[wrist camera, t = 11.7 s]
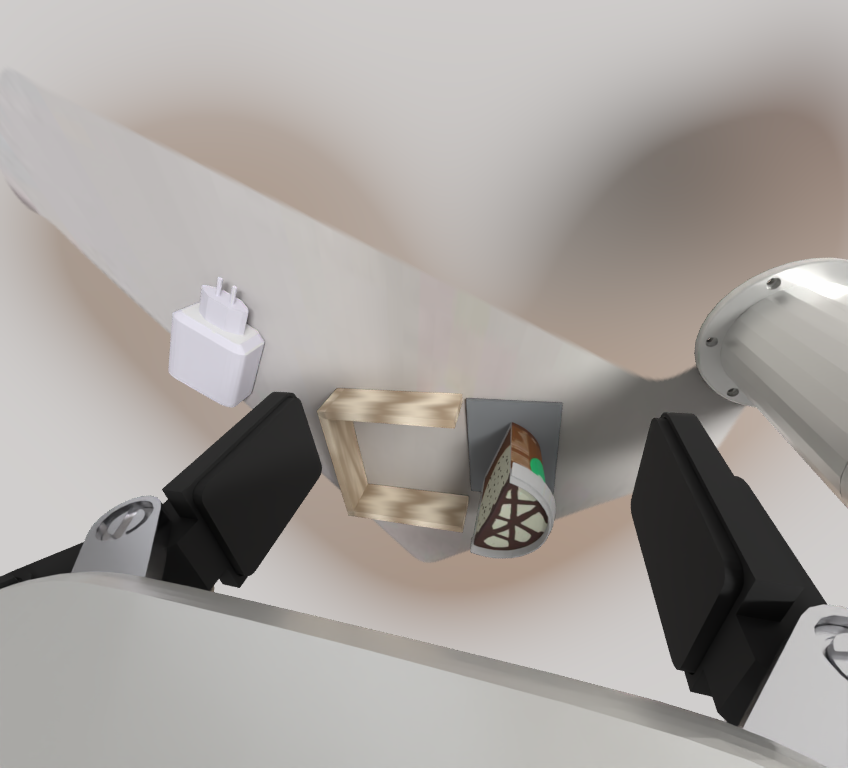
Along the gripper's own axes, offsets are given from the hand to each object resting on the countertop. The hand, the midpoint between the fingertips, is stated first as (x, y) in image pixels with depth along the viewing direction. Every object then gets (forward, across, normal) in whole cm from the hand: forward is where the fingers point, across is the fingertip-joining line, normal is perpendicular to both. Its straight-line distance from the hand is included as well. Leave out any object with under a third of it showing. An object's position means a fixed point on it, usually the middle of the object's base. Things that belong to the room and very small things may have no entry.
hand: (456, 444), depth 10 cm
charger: (+27, +33, +7) cm, 43 cm away
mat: (+26, 0, +22) cm, 35 cm away
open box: (+26, +13, +24) cm, 37 cm away
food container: (+26, -2, +24) cm, 35 cm away
